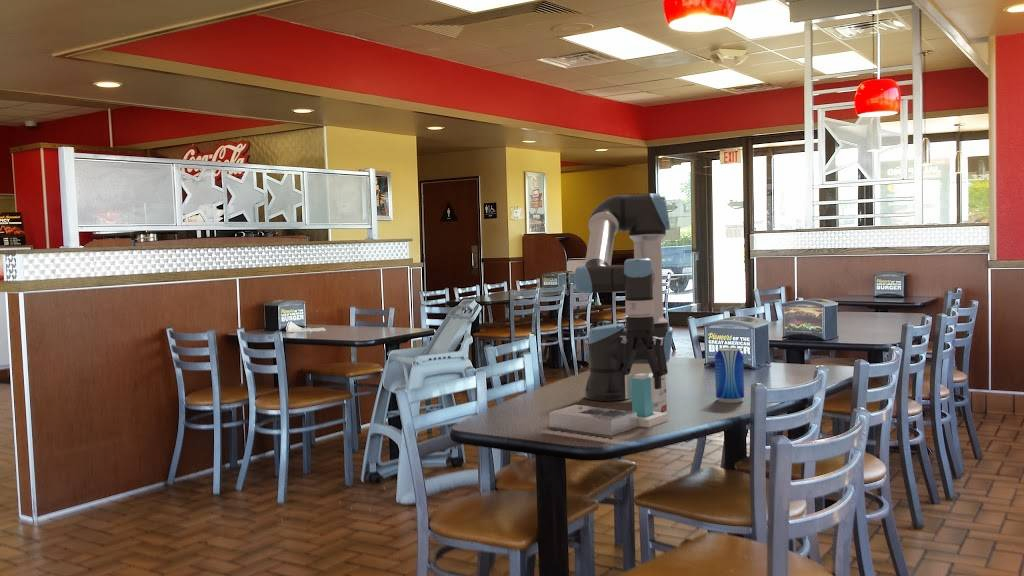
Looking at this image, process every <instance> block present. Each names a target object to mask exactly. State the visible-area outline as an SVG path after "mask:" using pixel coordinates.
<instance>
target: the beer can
mask: <svg viewBox="0 0 1024 576" xmlns="http://www.w3.org/2000/svg"><path fill="white" fill-rule="evenodd" d="M740 350H741V348H739V347H718V348H717V352H716V354H715V356H714V367H715V368H714V370H715V371H714V375H715V376H714V379H715V398H716V399H717V400H718V402H719V403H724V404H726V403H727V404H735V403H737V404H738V403H741V402H742V401H743V400H744V398H745V383H744V382H745V380H744V379H745V375H744V374H745V372H744V355H743V353H742V352H741V351H740Z"/></svg>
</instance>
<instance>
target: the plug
mask: <svg viewBox="0 0 1024 576" xmlns="http://www.w3.org/2000/svg"><path fill="white" fill-rule="evenodd" d="M633 376H634V377H633V378H632V379H631V385H632V398H631V411H633V412H637V416H639V417H649V416H652V415H653V402H652V401H651V377H649V373H642V372H641V373H636V374H634V375H633Z"/></svg>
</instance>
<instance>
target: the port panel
mask: <svg viewBox="0 0 1024 576" xmlns="http://www.w3.org/2000/svg"><path fill="white" fill-rule="evenodd" d="M548 413H549V428H550V429H549V430H553V431H552V432H557V431H561V432H560V433H564V432H567V431H566V430H569V432H570V433H574V432H572V431H576V433H577V434H581V433H580V432H583V433H582V434H583V435H582V436H584V435H588V434H589V435H590V436H589V437H591V436H596V437H595V438H598V437H602V435H603V437H604V438H603V439H605V438H610V439H609V440H611V439H612V437H607V436H614V435H615V436H616V435H617V434H621V433H623V432H626V431H630V430H632V429H633V430H634V429H635V428H638V426H637V412H633V411H632V410H624V409H614V408H606V407H597V406H589V405H583V404H582V405H581V404H574V405H570V406H567V407H563V408H560V409H555V410H553V411H549V412H548ZM551 428H552V429H551ZM553 428H554V429H553ZM560 429H561V430H560ZM570 433H569V434H570ZM586 433H588V434H586ZM577 434H576V435H577ZM592 434H596V435H592ZM612 440H613V439H612Z"/></svg>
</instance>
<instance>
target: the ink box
mask: <svg viewBox="0 0 1024 576" xmlns="http://www.w3.org/2000/svg"><path fill="white" fill-rule="evenodd" d="M648 374H649V377H652V376H653V373H652V372H650V373H648ZM666 375H667V374H665V375H662V376H661V388H660V389H659V400H658V401H655V402H653V411H654V412H662V413H664V412H666V411H667V410H668V409H667V406H668V405H667V404H668V403H667V381H666V380H667V377H666Z"/></svg>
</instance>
